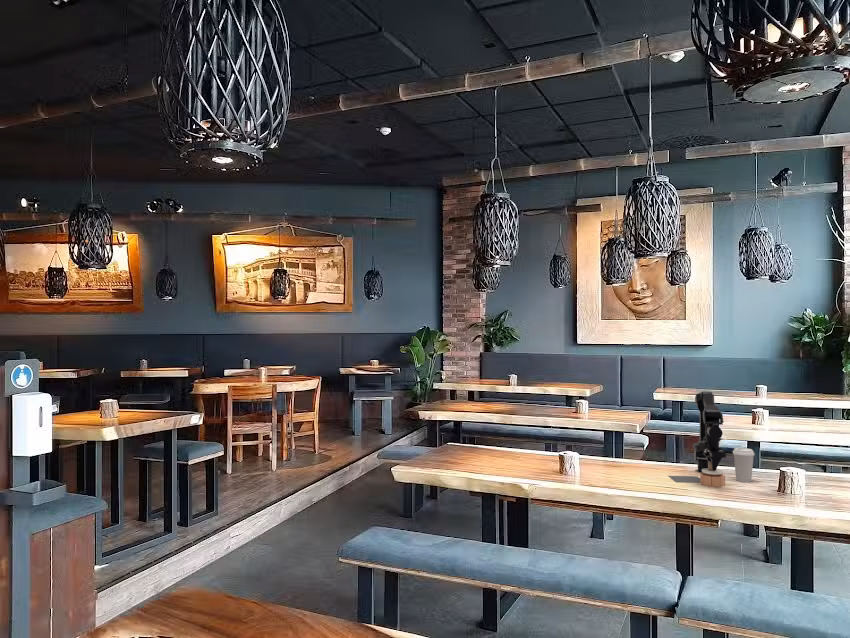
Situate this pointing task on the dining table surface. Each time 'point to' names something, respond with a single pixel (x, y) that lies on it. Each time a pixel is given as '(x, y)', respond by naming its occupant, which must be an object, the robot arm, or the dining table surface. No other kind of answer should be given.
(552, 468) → the dining table surface
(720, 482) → the bowl
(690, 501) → the dining table surface
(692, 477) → the trivet
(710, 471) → the lid
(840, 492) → the dining table surface
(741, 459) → the coffee cup
